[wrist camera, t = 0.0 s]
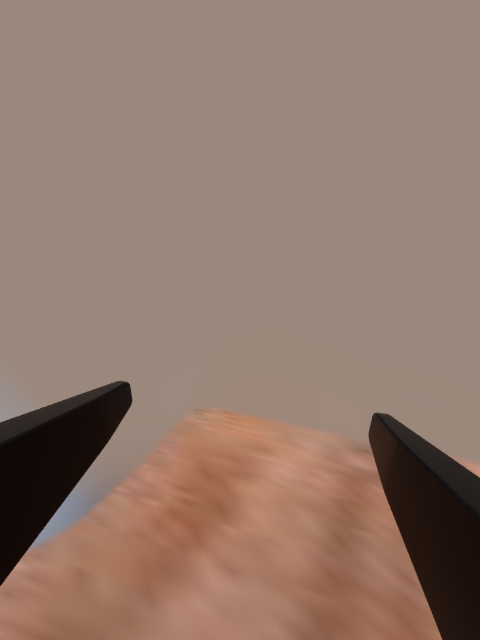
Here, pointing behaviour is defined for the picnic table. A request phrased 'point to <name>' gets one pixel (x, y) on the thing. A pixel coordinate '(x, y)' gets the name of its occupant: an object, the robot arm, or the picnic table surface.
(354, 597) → the picnic table surface
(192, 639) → the picnic table surface
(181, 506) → the picnic table surface
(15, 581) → the picnic table surface
